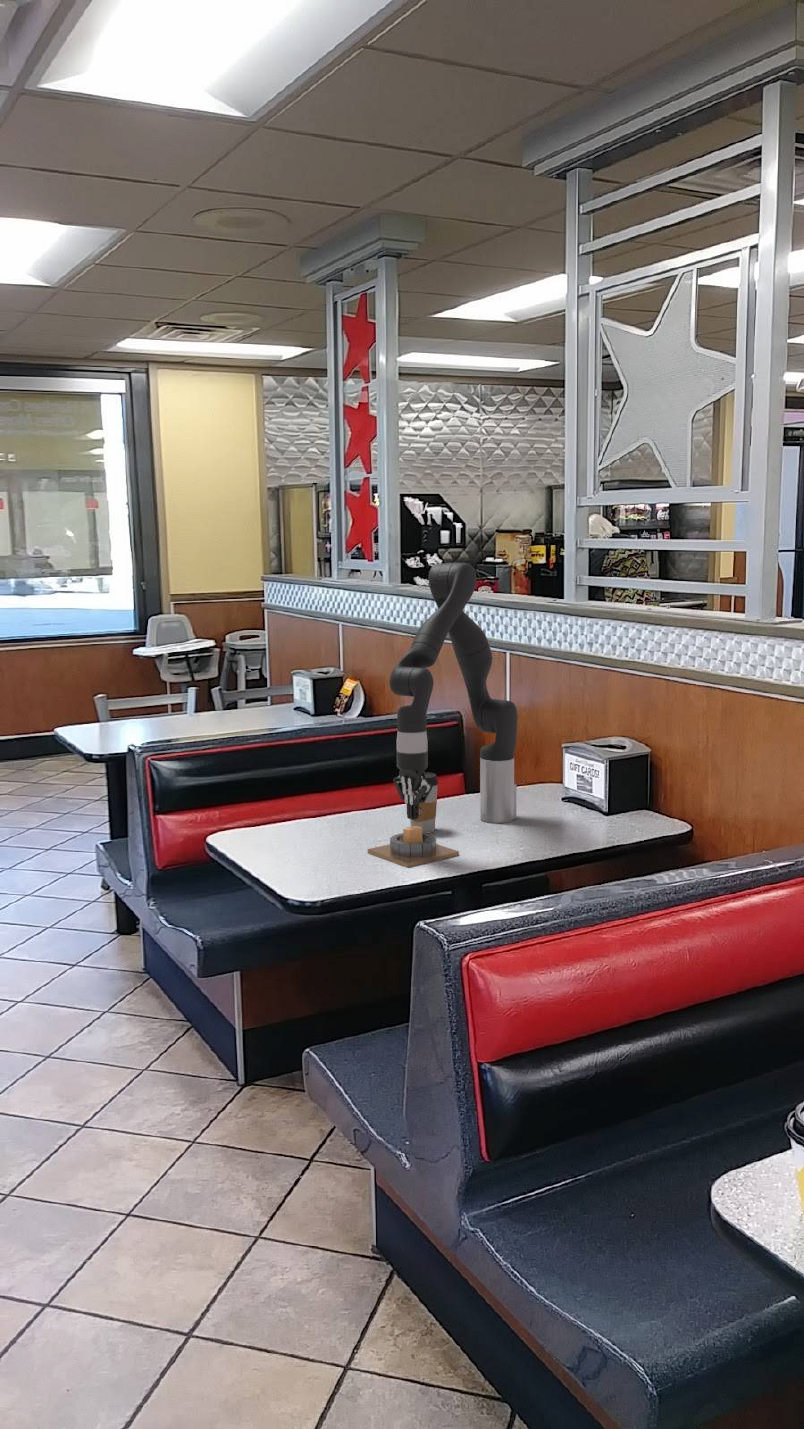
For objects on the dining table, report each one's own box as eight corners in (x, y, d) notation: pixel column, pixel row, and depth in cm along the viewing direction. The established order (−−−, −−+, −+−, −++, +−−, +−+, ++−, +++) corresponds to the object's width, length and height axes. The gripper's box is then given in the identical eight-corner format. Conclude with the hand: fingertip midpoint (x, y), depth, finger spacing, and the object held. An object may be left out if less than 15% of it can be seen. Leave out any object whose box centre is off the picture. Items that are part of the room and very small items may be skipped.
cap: (414, 845, 279) (414, 823, 278) (431, 850, 274) (431, 828, 273) (394, 849, 275) (394, 827, 274) (410, 855, 270) (410, 833, 269)
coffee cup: (401, 832, 295) (401, 776, 292) (416, 825, 302) (415, 770, 300) (429, 835, 291) (429, 779, 289) (443, 828, 298) (443, 773, 296)
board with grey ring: (418, 841, 285) (418, 826, 285) (459, 855, 273) (459, 839, 272) (367, 853, 276) (367, 837, 275) (407, 867, 263) (407, 851, 263)
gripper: (441, 751, 267) (442, 821, 270) (407, 743, 278) (408, 811, 280) (417, 755, 263) (417, 826, 265) (383, 747, 273) (384, 816, 276)
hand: (412, 818), depth 273 cm, fingers closed
